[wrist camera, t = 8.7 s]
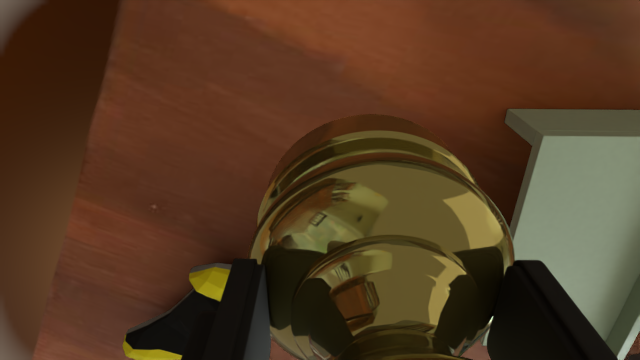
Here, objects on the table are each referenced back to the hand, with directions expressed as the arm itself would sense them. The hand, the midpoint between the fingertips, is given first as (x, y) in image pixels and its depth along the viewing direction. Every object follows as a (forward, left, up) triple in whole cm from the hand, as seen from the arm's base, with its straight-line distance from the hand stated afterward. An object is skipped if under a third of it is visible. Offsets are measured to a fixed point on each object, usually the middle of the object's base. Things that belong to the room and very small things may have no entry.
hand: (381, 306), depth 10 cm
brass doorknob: (0, 0, -5) cm, 5 cm away
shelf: (+20, -13, -24) cm, 33 cm away
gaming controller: (-14, -24, -24) cm, 36 cm away
